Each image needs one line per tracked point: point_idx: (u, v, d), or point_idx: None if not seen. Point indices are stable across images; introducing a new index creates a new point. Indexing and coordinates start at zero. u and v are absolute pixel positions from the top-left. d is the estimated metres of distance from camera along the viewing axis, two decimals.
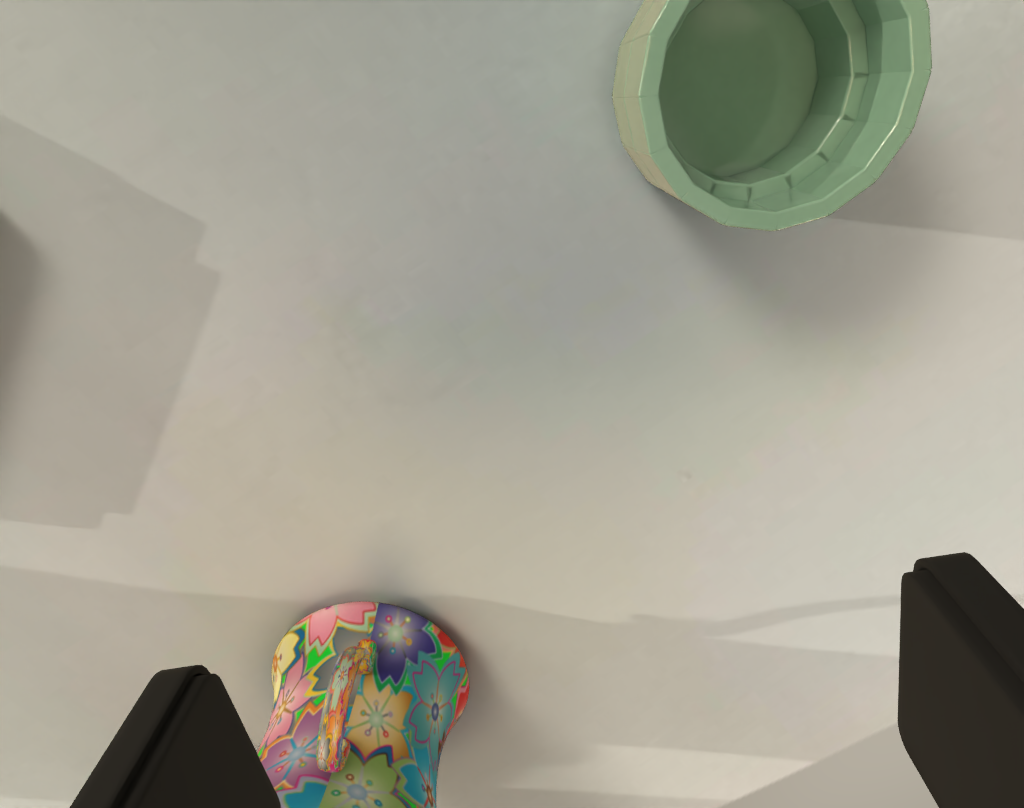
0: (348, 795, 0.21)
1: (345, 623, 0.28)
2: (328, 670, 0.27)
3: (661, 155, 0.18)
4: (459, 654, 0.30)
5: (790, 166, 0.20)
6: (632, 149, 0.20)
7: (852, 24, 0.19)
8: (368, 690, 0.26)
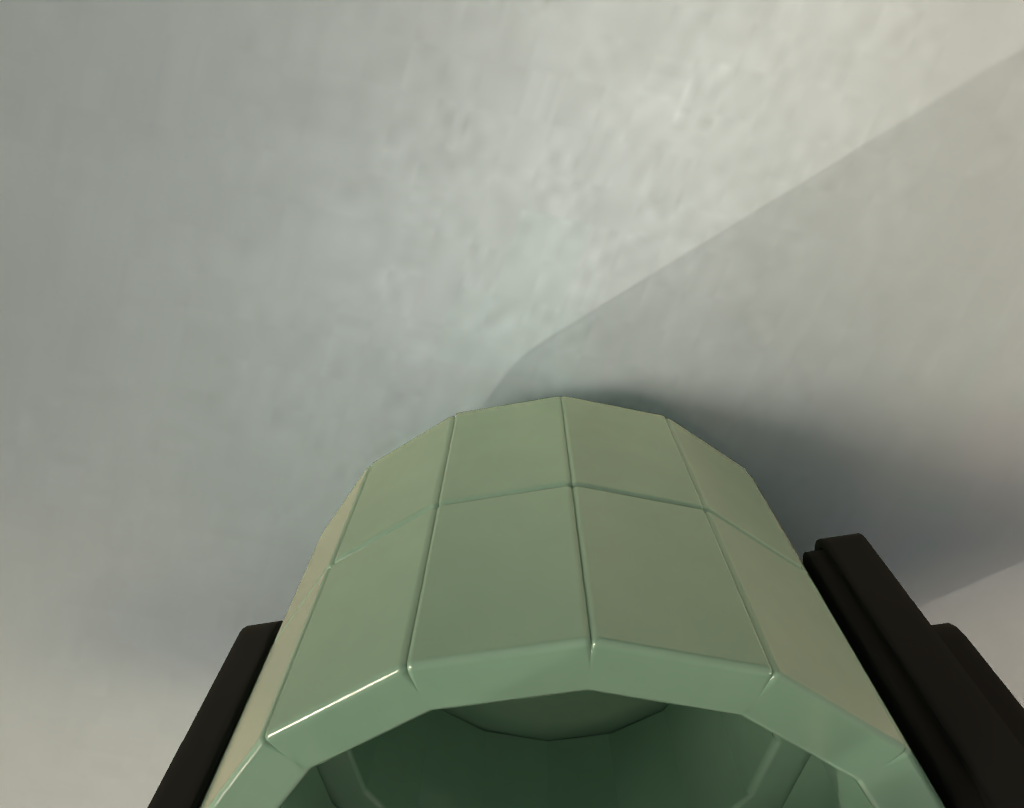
0: None
1: None
2: None
3: None
4: None
5: (748, 766, 0.09)
6: None
7: None
8: None
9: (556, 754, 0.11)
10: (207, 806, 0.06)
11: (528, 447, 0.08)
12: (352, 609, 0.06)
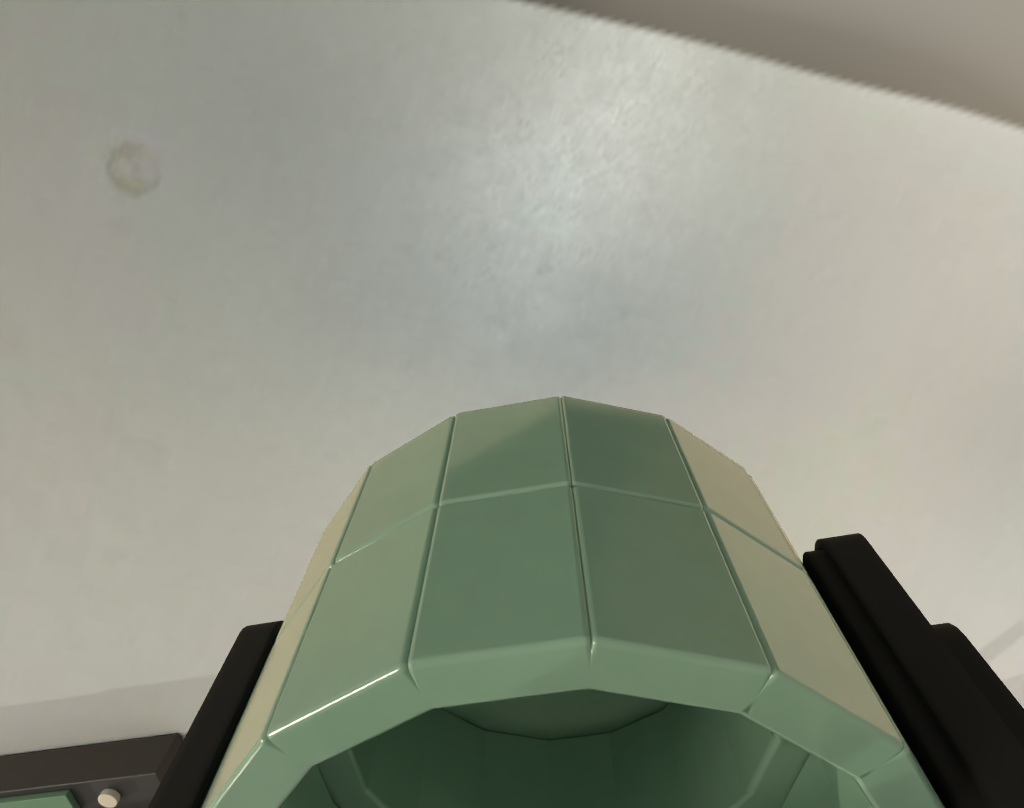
0: None
1: None
2: None
3: None
4: None
5: (746, 765, 0.09)
6: None
7: None
8: None
9: (556, 753, 0.11)
10: (209, 805, 0.06)
11: (528, 447, 0.08)
12: (353, 608, 0.06)
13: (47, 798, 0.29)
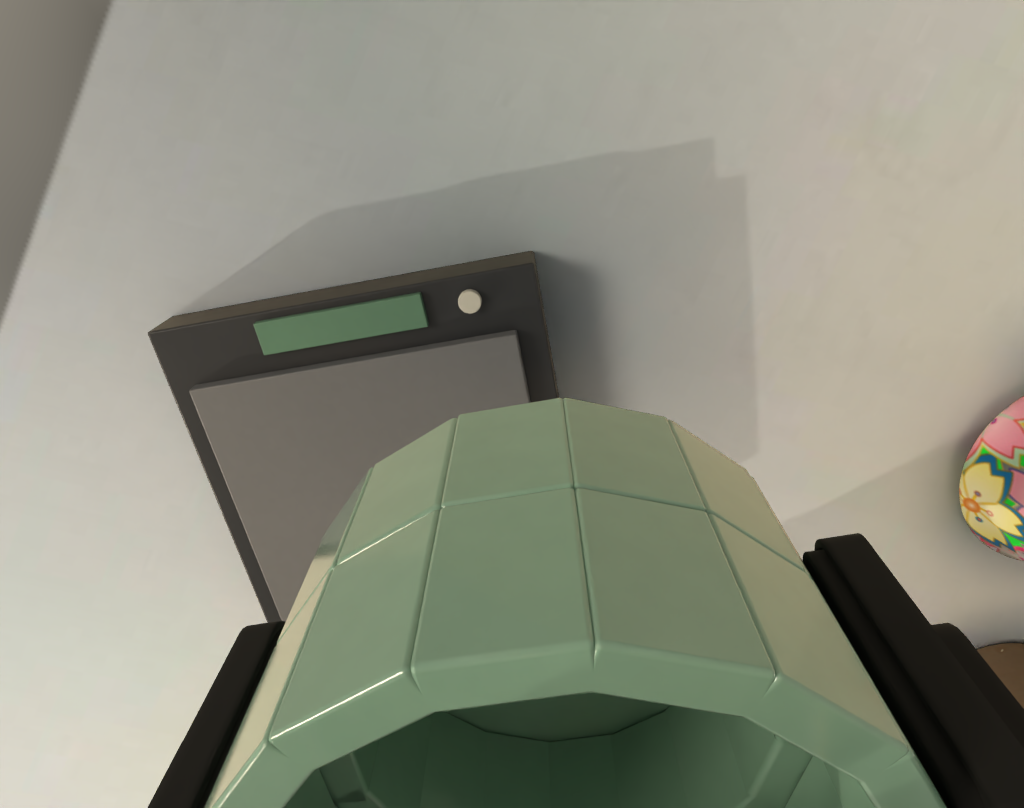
0: None
1: None
2: None
3: None
4: None
5: (749, 767, 0.09)
6: None
7: None
8: None
9: (558, 755, 0.11)
10: None
11: (530, 449, 0.08)
12: (355, 611, 0.06)
13: (396, 299, 0.24)
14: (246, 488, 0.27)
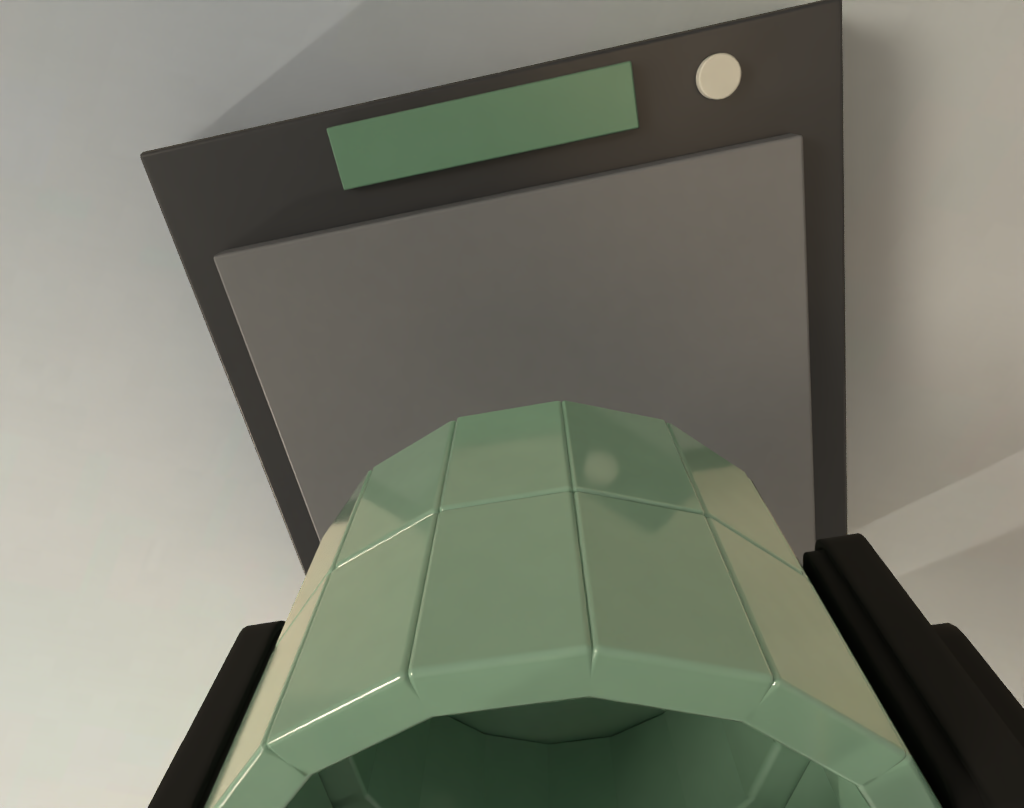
0: None
1: None
2: None
3: None
4: None
5: (747, 770, 0.09)
6: None
7: None
8: None
9: (556, 757, 0.11)
10: None
11: (529, 452, 0.08)
12: (353, 615, 0.06)
13: (588, 72, 0.13)
14: (308, 431, 0.16)
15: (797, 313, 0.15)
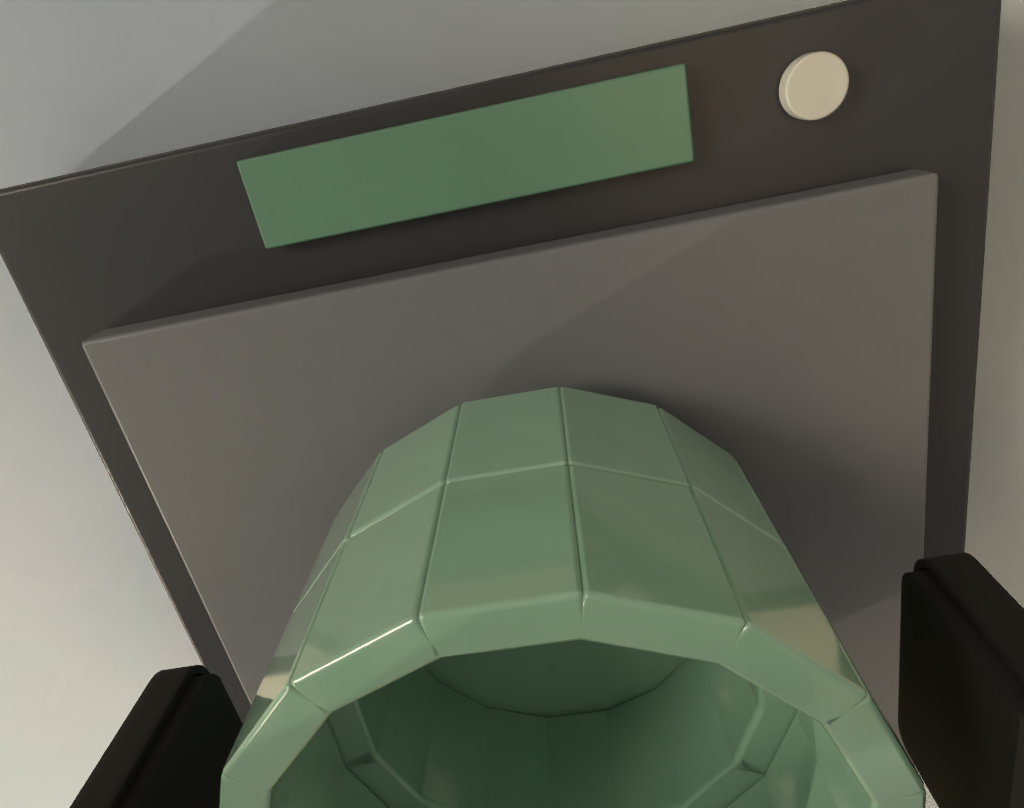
0: None
1: None
2: None
3: None
4: None
5: (734, 734, 0.10)
6: None
7: None
8: None
9: (555, 729, 0.12)
10: (237, 749, 0.07)
11: (528, 432, 0.09)
12: (368, 574, 0.07)
13: (620, 80, 0.09)
14: (229, 571, 0.12)
15: (912, 420, 0.10)
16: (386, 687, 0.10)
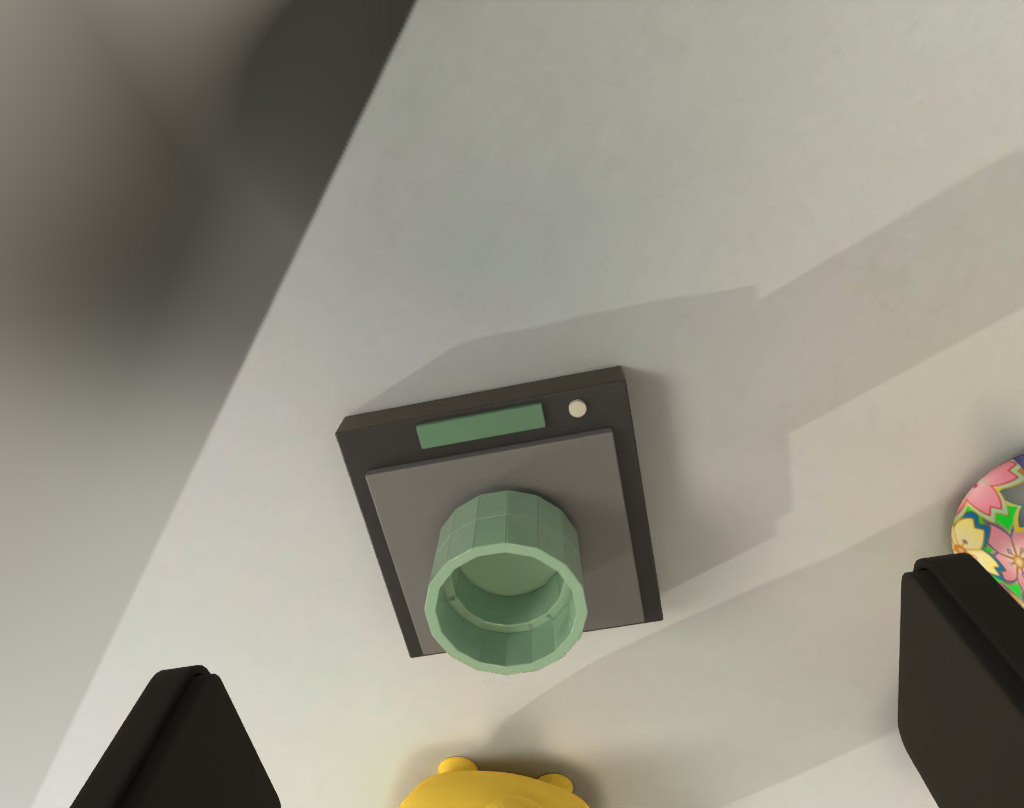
0: None
1: (1003, 485, 0.34)
2: None
3: (480, 667, 0.32)
4: None
5: (559, 591, 0.33)
6: None
7: None
8: None
9: (511, 599, 0.35)
10: (433, 578, 0.30)
11: (498, 505, 0.32)
12: (460, 541, 0.31)
13: (523, 408, 0.33)
14: (402, 546, 0.35)
15: (618, 498, 0.34)
16: (457, 580, 0.34)
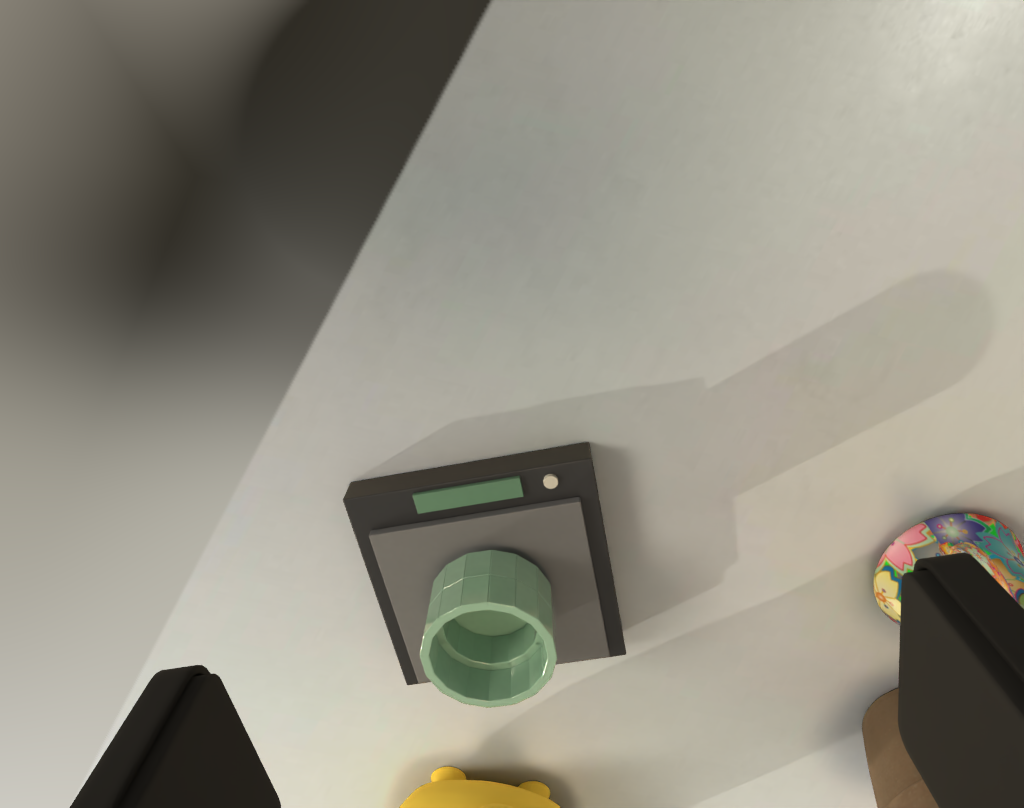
0: None
1: (914, 545, 0.40)
2: None
3: (467, 701, 0.38)
4: None
5: (534, 635, 0.39)
6: None
7: None
8: None
9: (494, 639, 0.41)
10: (427, 630, 0.36)
11: (482, 564, 0.38)
12: (449, 598, 0.36)
13: (504, 481, 0.38)
14: (400, 594, 0.41)
15: (586, 555, 0.40)
16: (447, 625, 0.40)
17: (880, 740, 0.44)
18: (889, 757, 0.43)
